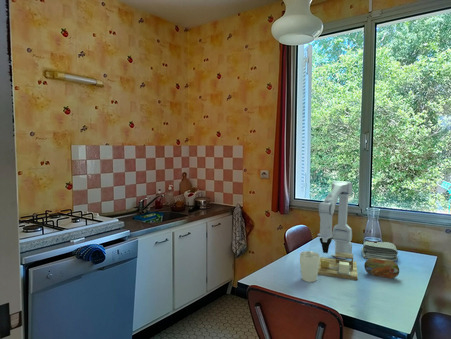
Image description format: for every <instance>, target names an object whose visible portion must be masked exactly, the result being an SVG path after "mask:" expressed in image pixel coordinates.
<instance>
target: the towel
mask: <svg viewBox="0 0 451 339" xmlns="http://www.w3.org/2000/svg"><path fill="white" fill-rule="evenodd" d="M374 242H375V241H367V240H366V241H363V247H361V253H362V255H363V256H362V258H364V259H369V258H378V259H385V260H391V261H394V262H396V261H397V260H398V259H399V258H398V253H399V251H398V249H397V247H396V245H395V244H394V243H392V242H385V241H376V242H377V243H374Z"/></svg>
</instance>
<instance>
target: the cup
mask: <svg viewBox="0 0 451 339" xmlns="http://www.w3.org/2000/svg"><path fill="white" fill-rule="evenodd" d="M319 257H320V254H319V253H318V252H315V251H310V250H309V251H306V250H305V251H301V252H300V253H299V264H300V273H301V279H302V280H303V281H304V282H307V283H314V282H316V281H317V278H318V275H319V274H318V269H319V263H320V258H319Z"/></svg>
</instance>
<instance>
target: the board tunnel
mask: <svg viewBox="0 0 451 339" xmlns="http://www.w3.org/2000/svg"><path fill="white" fill-rule="evenodd" d="M337 257H343V258H346V259H340V258H337ZM319 258H320V263H319V269H318V274H317V275H319V276H320V275H321V276H327V277H334V278H339V279H340V278H342V279H348V280H355V281H358V277H359V275H358V268H357V261H354V253H352V254H347V253H339V252H336V257H335V258H329V257H323V256H319ZM347 259H351V260H347ZM321 260H327V261H329V267H335V268H338V266H339V261H341V262H348V263H349V267H351V275H345V274H338V273H337V270H332V269H325V268H321Z"/></svg>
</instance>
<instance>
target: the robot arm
mask: <svg viewBox="0 0 451 339" xmlns="http://www.w3.org/2000/svg"><path fill="white" fill-rule="evenodd" d="M352 194H353V183H352V182H351V181H344V180H343V181H342V180H333V181H332V183H331V193H328V194H327V195H326V196H325V199H323V201H322V202H320V203H319V205H318V215H319V217H320V218H319V219H320V221H319V225H320V226H319V233H317V237H319V242H320V244H321V248H322V253H323V254H328V253H329V249H330V244H331V243H332V241H333V240H334V243H335V244H334V253H333V254H331V256H333V257H335V258H336V252H339V253H347V254H353V245H352V242H351V241H352V239H353V230H352V228H351V227H350V226H349V224H348V209H349V208H348V207H349V198H350V196H352ZM337 203H338V216H337V224H335V225H334V226H333V215H334V213H335V209H336V205H337ZM337 259H339V260H347V258H343V257H337Z"/></svg>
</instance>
